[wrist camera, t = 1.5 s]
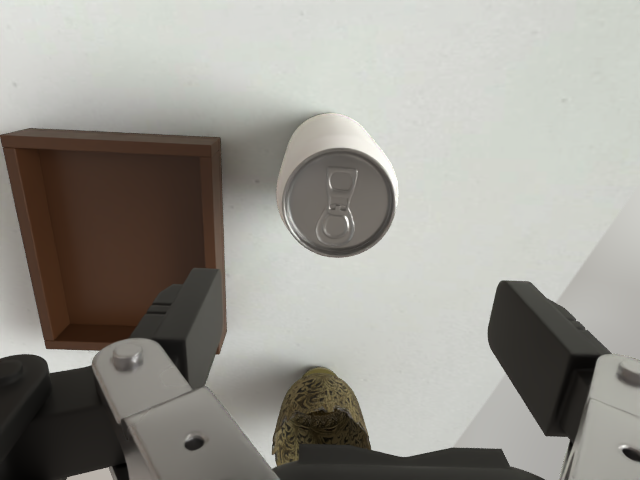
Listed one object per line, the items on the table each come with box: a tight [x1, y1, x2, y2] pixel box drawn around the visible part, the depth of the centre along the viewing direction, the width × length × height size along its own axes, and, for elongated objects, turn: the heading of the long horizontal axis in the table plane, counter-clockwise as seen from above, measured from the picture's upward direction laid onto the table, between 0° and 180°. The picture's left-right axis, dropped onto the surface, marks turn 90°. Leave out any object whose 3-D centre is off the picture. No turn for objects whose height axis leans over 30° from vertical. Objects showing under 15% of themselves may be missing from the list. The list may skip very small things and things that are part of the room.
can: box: [276, 113, 398, 258], centre depth 27 cm, size 6×6×12 cm
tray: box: [0, 128, 227, 354], centre depth 33 cm, size 17×14×3 cm
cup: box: [272, 367, 371, 466], centre depth 36 cm, size 8×7×8 cm
